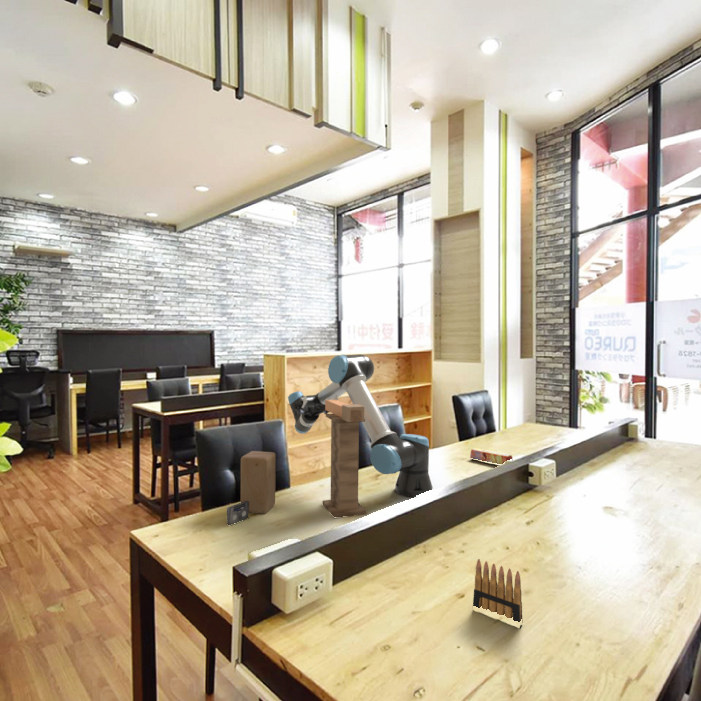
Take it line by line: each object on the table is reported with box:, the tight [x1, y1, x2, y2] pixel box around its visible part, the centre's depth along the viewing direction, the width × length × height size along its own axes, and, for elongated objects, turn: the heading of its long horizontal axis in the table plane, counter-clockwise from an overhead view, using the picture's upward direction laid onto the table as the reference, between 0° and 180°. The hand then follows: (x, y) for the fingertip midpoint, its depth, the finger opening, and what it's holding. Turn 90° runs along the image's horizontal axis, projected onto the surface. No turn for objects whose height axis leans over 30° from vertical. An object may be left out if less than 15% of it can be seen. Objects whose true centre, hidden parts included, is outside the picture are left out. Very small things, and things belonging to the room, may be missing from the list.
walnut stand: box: [321, 413, 368, 518], centre depth 166 cm, size 14×12×34 cm
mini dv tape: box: [226, 501, 250, 526], centre depth 154 cm, size 8×2×6 cm, turn 145°
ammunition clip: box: [472, 558, 523, 622], centre depth 102 cm, size 11×2×12 cm, turn 52°
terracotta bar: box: [325, 399, 364, 422], centre depth 169 cm, size 28×6×5 cm, turn 21°
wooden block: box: [240, 450, 276, 515], centre depth 166 cm, size 10×10×20 cm
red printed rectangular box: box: [469, 447, 513, 464], centre depth 232 cm, size 21×7×7 cm, turn 41°
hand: (321, 398), depth 192 cm, fingers open, 13 cm apart
